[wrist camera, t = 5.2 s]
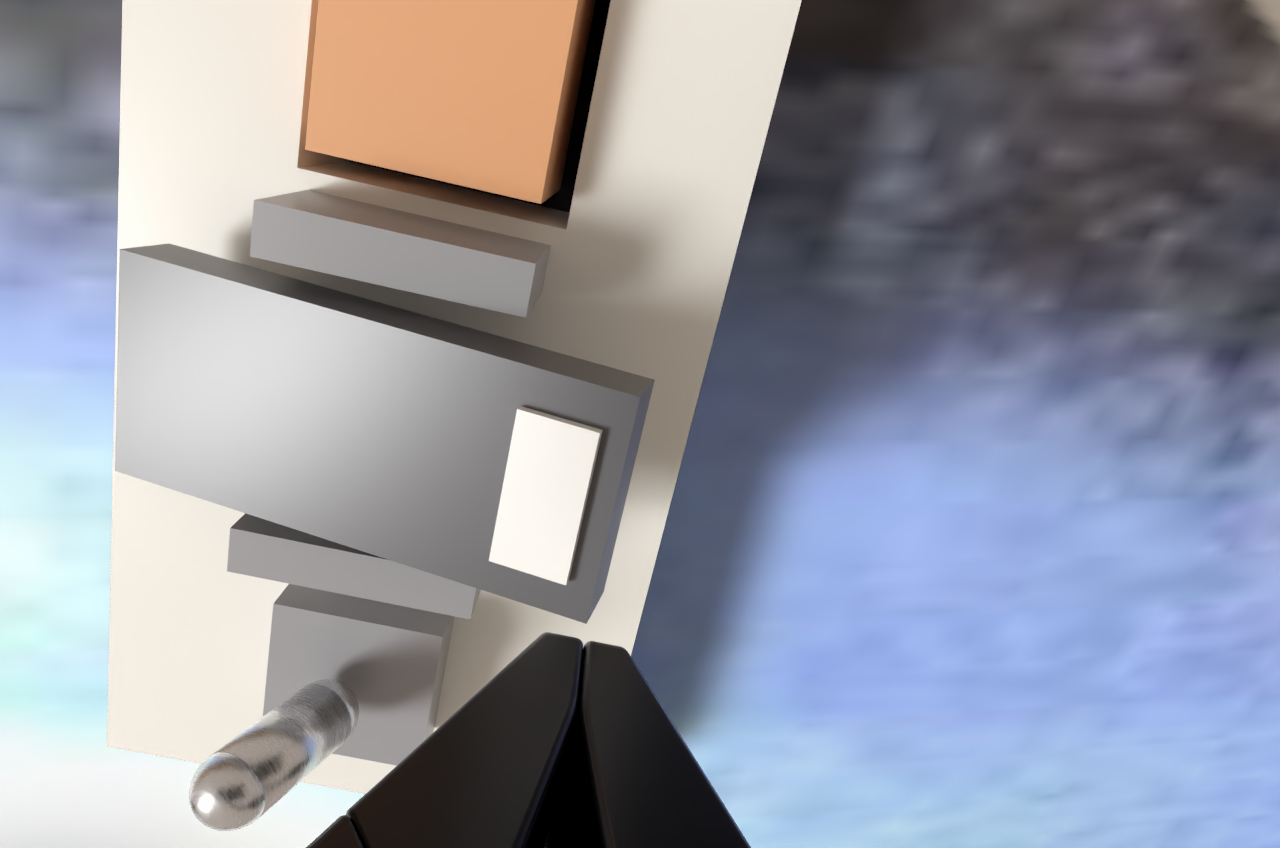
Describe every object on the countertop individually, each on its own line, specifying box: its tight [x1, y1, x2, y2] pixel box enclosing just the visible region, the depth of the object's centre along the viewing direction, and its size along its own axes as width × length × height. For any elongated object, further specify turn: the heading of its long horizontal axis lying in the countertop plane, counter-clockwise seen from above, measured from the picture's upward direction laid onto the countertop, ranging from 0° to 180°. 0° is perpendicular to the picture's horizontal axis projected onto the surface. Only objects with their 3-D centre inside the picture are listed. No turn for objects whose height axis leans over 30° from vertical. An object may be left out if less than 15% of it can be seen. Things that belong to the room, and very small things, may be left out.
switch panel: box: [107, 0, 802, 794], centre depth 15 cm, size 10×18×4 cm, turn 167°
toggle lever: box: [189, 679, 359, 831], centre depth 14 cm, size 1×1×3 cm
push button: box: [305, 0, 596, 204], centre depth 14 cm, size 4×4×3 cm
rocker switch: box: [115, 243, 655, 624], centre depth 13 cm, size 8×4×1 cm, turn 77°
